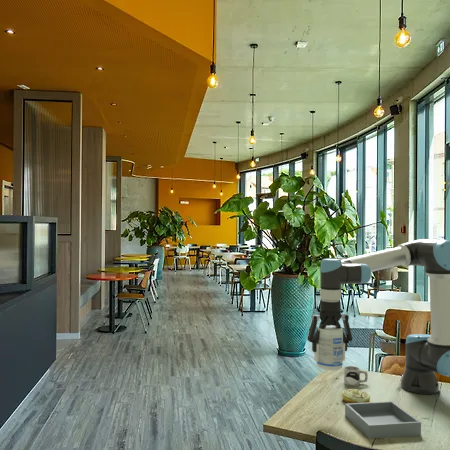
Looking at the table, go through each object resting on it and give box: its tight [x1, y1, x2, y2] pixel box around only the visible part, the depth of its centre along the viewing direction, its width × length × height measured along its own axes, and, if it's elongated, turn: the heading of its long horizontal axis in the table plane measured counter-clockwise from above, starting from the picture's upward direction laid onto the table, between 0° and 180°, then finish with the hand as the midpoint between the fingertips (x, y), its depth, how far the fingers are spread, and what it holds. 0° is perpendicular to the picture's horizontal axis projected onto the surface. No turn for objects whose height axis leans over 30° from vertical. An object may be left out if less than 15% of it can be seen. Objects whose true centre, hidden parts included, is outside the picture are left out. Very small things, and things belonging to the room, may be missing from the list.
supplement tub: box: [316, 325, 344, 371], centre depth 175 cm, size 10×10×15 cm
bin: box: [344, 400, 422, 440], centre depth 164 cm, size 19×19×4 cm
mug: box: [343, 365, 369, 387], centre depth 207 cm, size 10×7×7 cm, turn 83°
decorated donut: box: [341, 388, 371, 404], centre depth 186 cm, size 10×11×4 cm
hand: (329, 360), depth 175 cm, fingers closed on supplement tub, 9 cm apart
